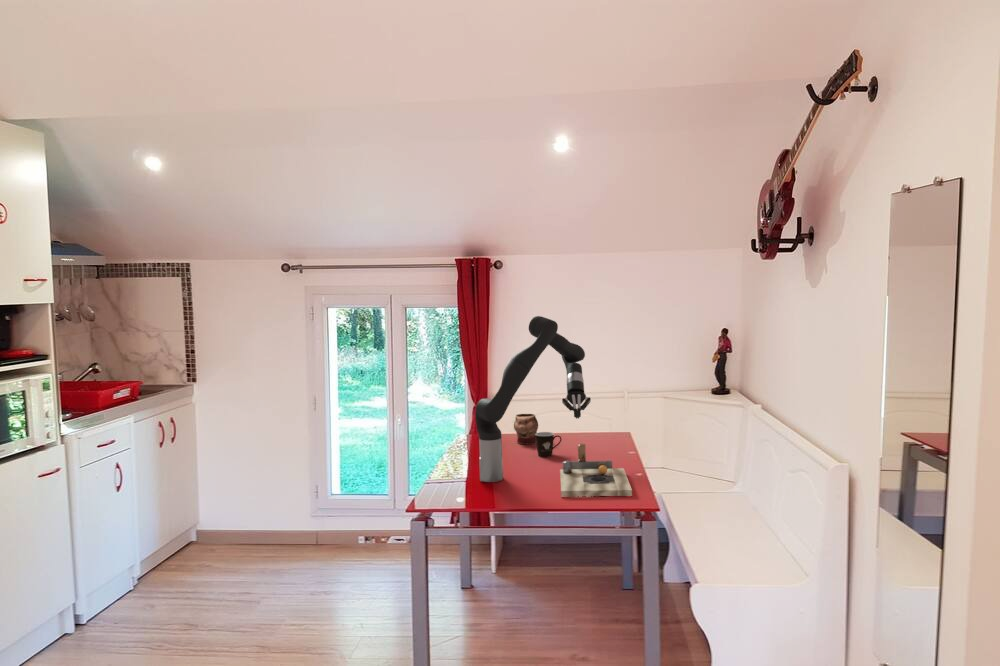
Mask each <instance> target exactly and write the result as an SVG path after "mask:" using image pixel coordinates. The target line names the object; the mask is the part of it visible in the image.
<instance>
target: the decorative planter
mask: <svg viewBox="0 0 1000 666" xmlns="http://www.w3.org/2000/svg"><path fill="white" fill-rule="evenodd" d="M513 429H514V431H515V432H516V435H517V439H516V443H517V444H520V445H532V444H536V437H535V434H536V433H538V429H539V422H538V420H537V417H536V415H535V413H519V414H516V415H515V420H514V423H513Z"/></svg>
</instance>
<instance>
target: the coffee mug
mask: <svg viewBox="0 0 1000 666" xmlns="http://www.w3.org/2000/svg"><path fill="white" fill-rule="evenodd" d="M535 437H536V442H535V444H536V450H537V456H538V457H539V458H551V457H552V456H553V452H554V451H553V450H554V449H555V448H556V447H558V446H559V445H560V444H561V443H562V436H560V435H555V433H553V432H551V431H540V432H537V433H536V434H535ZM557 437H558V438H559V439H560V440H559V441H558V443H557V444H556V445H554V441H555V438H557Z"/></svg>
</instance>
